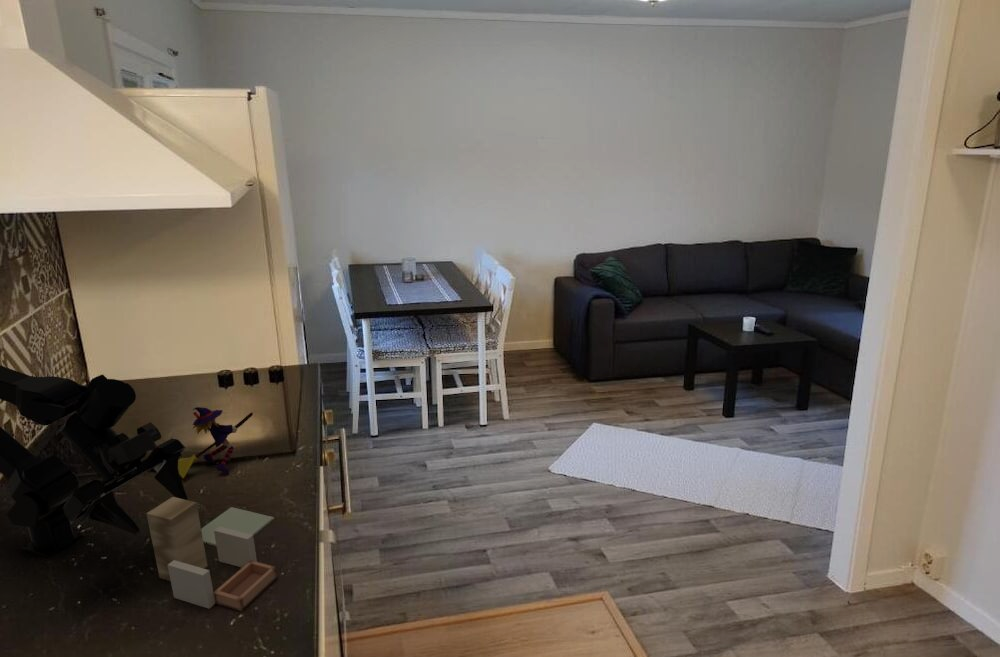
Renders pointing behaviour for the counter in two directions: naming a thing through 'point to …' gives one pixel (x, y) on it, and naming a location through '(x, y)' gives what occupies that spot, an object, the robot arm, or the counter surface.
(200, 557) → the beech post
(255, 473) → the counter surface
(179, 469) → the toy
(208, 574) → the channel
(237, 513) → the green mat
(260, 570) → the tray
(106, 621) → the counter surface
